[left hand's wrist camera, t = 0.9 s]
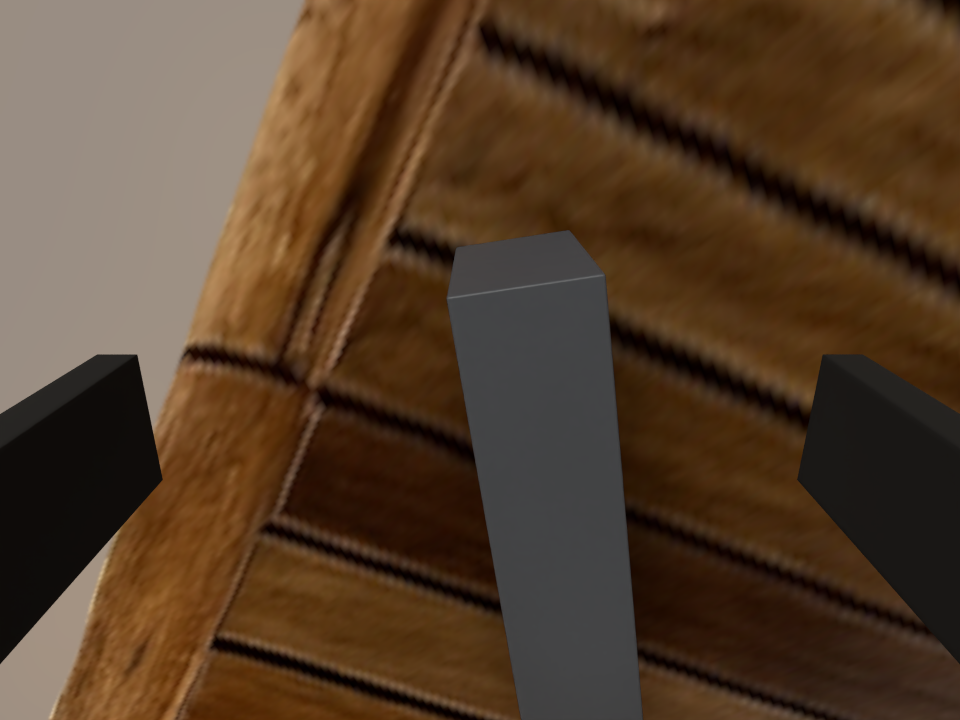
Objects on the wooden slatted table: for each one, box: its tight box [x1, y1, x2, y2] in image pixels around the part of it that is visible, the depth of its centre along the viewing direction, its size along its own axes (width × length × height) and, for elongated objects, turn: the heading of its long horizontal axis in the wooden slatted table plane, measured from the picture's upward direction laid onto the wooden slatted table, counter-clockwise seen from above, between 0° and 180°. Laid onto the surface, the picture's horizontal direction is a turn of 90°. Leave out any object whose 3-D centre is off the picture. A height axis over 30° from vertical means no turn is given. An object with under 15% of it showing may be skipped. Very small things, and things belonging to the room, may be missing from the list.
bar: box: [447, 230, 643, 720], centre depth 28 cm, size 24×5×8 cm, turn 9°
